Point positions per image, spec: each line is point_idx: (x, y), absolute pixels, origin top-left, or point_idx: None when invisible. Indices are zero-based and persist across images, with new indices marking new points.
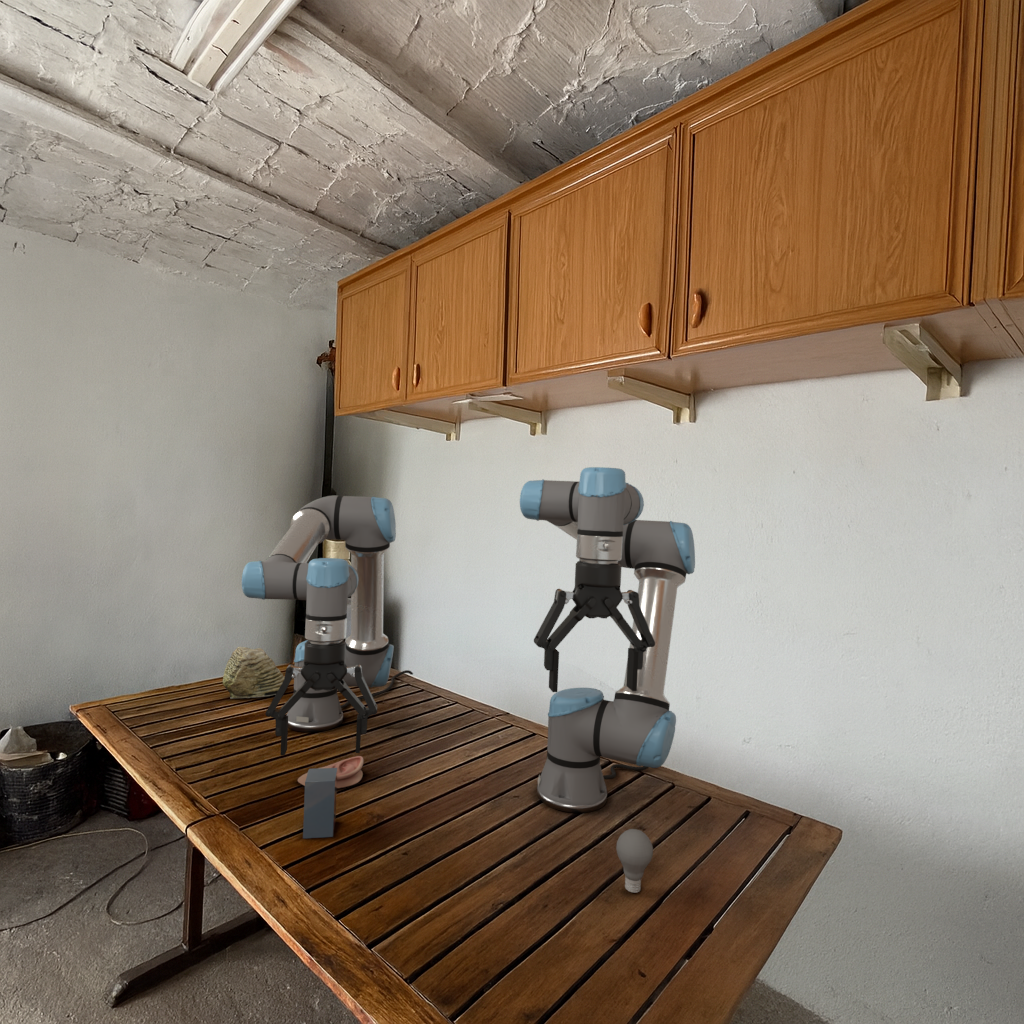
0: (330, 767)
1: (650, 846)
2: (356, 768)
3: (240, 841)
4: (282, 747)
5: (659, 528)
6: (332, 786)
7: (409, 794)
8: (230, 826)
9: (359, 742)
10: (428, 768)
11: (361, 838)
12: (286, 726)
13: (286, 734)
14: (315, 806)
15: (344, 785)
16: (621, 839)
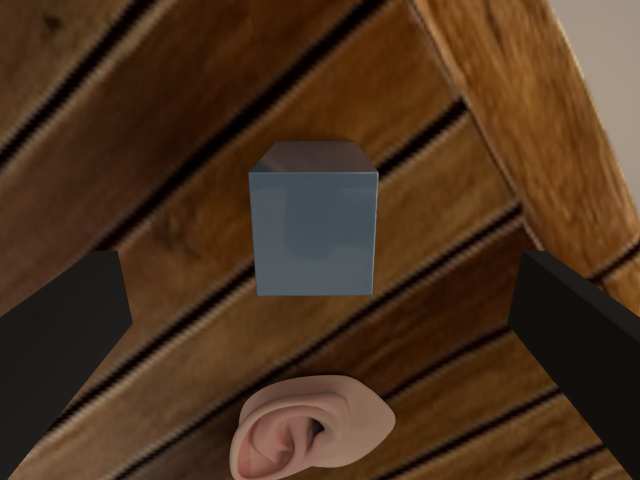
0: (317, 445)
1: None
2: (245, 431)
3: (518, 146)
4: (563, 271)
5: None
6: (261, 167)
7: None
8: (545, 225)
9: (55, 279)
10: (81, 453)
11: (195, 125)
12: (637, 389)
13: (579, 355)
14: (327, 154)
15: (277, 386)
16: None
